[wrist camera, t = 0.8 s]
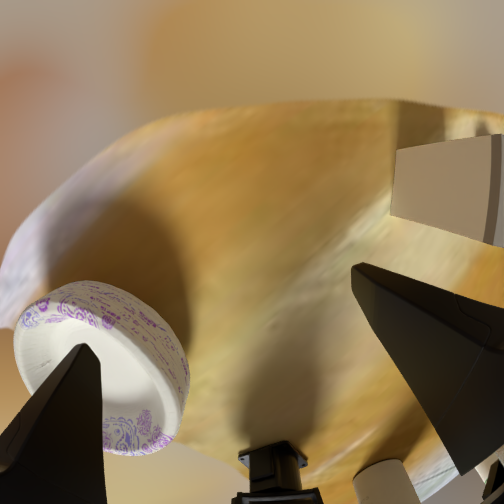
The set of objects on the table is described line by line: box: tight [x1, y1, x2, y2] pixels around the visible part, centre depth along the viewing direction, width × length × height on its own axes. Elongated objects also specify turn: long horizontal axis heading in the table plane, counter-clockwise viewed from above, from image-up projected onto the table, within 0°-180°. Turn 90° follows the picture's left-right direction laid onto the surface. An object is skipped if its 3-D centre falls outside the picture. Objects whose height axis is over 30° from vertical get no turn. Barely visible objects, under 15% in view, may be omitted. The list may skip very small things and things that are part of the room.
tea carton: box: [390, 134, 504, 248], centre depth 15 cm, size 6×6×12 cm
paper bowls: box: [14, 280, 190, 456], centre depth 20 cm, size 15×15×8 cm
